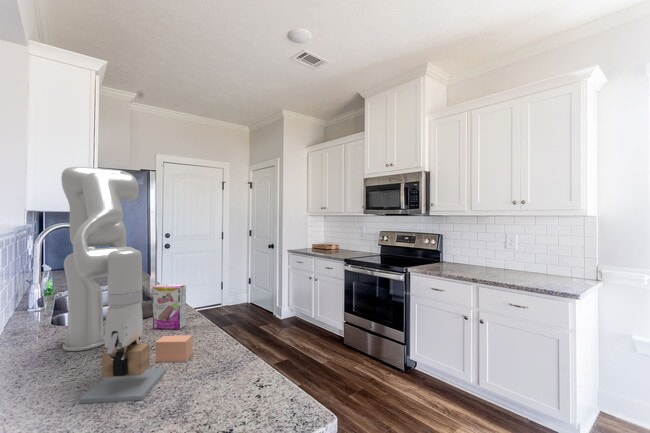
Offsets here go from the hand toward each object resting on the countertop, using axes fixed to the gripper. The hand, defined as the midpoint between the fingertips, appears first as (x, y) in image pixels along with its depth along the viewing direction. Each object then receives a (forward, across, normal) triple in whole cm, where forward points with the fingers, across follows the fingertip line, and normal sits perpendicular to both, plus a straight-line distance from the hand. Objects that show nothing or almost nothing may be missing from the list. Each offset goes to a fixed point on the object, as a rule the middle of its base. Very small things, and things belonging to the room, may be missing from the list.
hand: (126, 368), depth 83 cm
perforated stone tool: (+4, -60, -20) cm, 64 cm away
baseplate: (+4, 0, 0) cm, 4 cm away
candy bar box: (+4, -44, -6) cm, 45 cm away
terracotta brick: (+5, -16, +6) cm, 18 cm away
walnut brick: (+1, 0, 0) cm, 1 cm away
